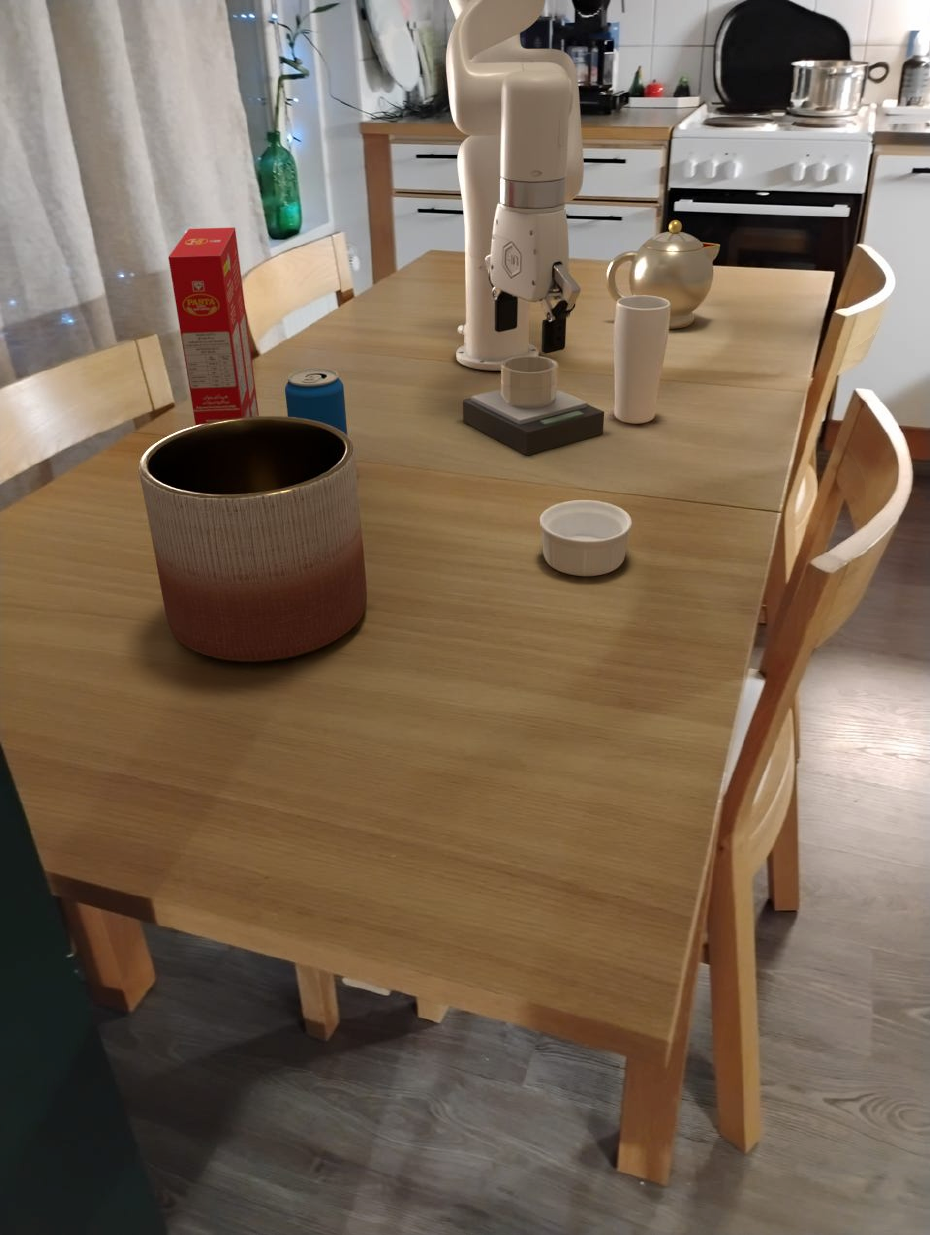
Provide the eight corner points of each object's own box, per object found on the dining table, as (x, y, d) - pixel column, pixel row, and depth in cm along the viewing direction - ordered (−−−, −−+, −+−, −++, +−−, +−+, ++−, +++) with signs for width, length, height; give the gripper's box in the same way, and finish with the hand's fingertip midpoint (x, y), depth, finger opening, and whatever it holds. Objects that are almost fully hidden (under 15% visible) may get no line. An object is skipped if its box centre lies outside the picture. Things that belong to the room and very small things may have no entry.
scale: (463, 421, 131) (462, 395, 129) (536, 403, 137) (536, 377, 135) (527, 455, 121) (527, 427, 120) (603, 434, 127) (604, 407, 125)
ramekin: (605, 589, 94) (607, 548, 92) (522, 566, 98) (523, 526, 96) (643, 550, 100) (646, 511, 98) (564, 530, 104) (565, 492, 102)
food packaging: (219, 433, 129) (188, 228, 116) (260, 432, 129) (235, 227, 116) (204, 481, 116) (168, 257, 103) (250, 478, 117) (220, 255, 104)
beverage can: (359, 468, 119) (352, 369, 112) (336, 490, 114) (326, 388, 107) (310, 462, 121) (300, 364, 114) (284, 483, 115) (272, 382, 109)
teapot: (704, 312, 174) (715, 211, 166) (717, 334, 163) (730, 228, 154) (600, 312, 175) (606, 212, 167) (606, 334, 164) (612, 229, 155)
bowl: (490, 397, 129) (490, 362, 126) (534, 386, 132) (535, 352, 129) (523, 413, 124) (523, 376, 121) (567, 401, 127) (569, 366, 124)
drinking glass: (659, 428, 128) (670, 310, 120) (606, 425, 129) (613, 308, 122) (661, 410, 134) (672, 296, 126) (610, 407, 135) (617, 294, 127)
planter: (387, 650, 86) (376, 481, 77) (174, 687, 82) (138, 512, 73) (348, 556, 100) (335, 404, 92) (165, 583, 96) (134, 427, 88)
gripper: (463, 185, 119) (465, 327, 129) (553, 211, 107) (547, 366, 117) (514, 177, 123) (512, 317, 132) (607, 202, 111) (597, 353, 120)
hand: (528, 340), depth 125 cm, fingers open, 9 cm apart
